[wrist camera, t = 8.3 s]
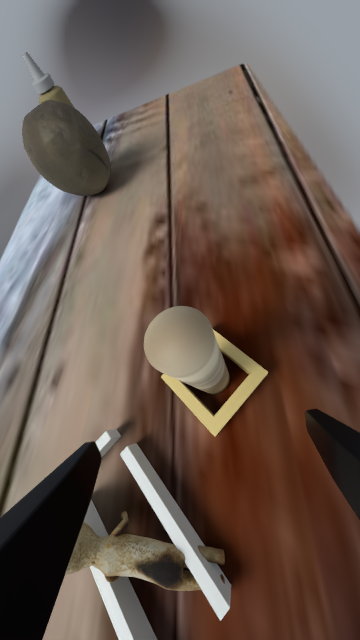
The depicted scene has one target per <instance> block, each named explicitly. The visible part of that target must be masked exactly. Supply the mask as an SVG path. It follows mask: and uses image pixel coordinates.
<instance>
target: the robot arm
mask: <svg viewBox="0 0 360 640" xmlns="http://www.w3.org/2000/svg"><path fill="white" fill-rule="evenodd" d="M305 416H306V426H307V430H308V433H309V435H310V437H311V439H312V441H313V442H314V444H315V446H316V448H317V450H318V452H319V454H320V456H321V458H322V459H323V461H324V463H325V465H326V467H327V469H328V471H329V472H330V474H331V476H332V478H333V479H334V481H335V483H336V484H337V486H338V487H339V489H340V491H341V492H342V494H343V495H344V497H345V498H346V500H347V501H348V503H349V504H350V506H351V507H352V509H353V511H354V512H355V514H356V515H357V517H358V518H359V520H360V433H359V432H358V431H356V430H354V429H352V428H350V427H349V426H347V425H345V424H343V423H341V422H340V421H338V420H336V419H334V418H333V417H331V416H329V415H327V414H325V413H324V412H322V411H320V410H318V409H311V410H307V411H306V412H305ZM100 464H101V453H100V451H99V449H98V446H97V444H96V443H95V442H93V441H92V442H86V443H84V444H83V445H82V446H81V447H80V448H79V449H78V450H76V451H75V452H74V453H73V454H72V455H71V456H70V457H68V458H67V459H66V460H65V461H64V462H63V463H62V464H61V465H59V466H58V467H57V468H56V469H55V470H54V471H53V472H52V473H50V474H49V475H48V476H47V477H46V478H45V479H44V480H43V481H41V482H40V483H39V484H38V485H37V486H36V487H35V488H34V489H32V490H31V491H30V492H29V493H28V494H27V495H26V496H24V497H23V498H22V499H21V500H20V501H19V502H18V503H17V504H15V505H14V506H13V507H12V508H11V509H10V510H9V511H8V512H6V513H5V514H4V515H3V516H2V517H1V518H0V640H42V639H43V636H44V633H45V630H46V627H47V624H48V622H49V619H50V616H51V613H52V610H53V607H54V605H55V602H56V599H57V596H58V593H59V590H60V587H61V585H62V582H63V579H64V576H65V573H66V570H67V567H68V565H69V562H70V559H71V556H72V553H73V550H74V547H75V545H76V542H77V539H78V536H79V533H80V530H81V527H82V525H83V522H84V519H85V516H86V513H87V510H88V507H89V504H90V501H91V498H92V494H93V490H94V486H95V483H96V479H97V475H98V471H99V468H100Z"/></svg>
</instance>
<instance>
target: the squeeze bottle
mask: <svg viewBox="0 0 360 640" xmlns="http://www.w3.org/2000/svg"><path fill="white" fill-rule="evenodd" d="M23 57H24V59H25V61H26V63H27V65H28V67H29V70H30V72H31V74H32V76H33V78H34V80H35V81H34V82H33V84H32V85H33V87H34V88H35V90H36V91H37V93H38V94H41V95H40V98H39V103H40V104H41V103H42V102H44V101H46V100H55V101H59V102H63V103H66V104H68V105H70V106H72V107H73V108H74V106H73V105H72V103H71V102H70V100H69V99H68V97H67V96H66V94H65V92H64V91H63V90H62V88H61V87H59V86H53V85H54V82H53V80H52V78H51V76H50V75H49V74H48V73H47V74H44V73H43V72H42V71H41V70H40V68H39V67H38V66H37V64H36V63H35V62H34V61H33V59H32V58H31V56H30V55H29V54H28V53H27V52H26V53H25V54H23Z"/></svg>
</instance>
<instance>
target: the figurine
mask: <svg viewBox="0 0 360 640" xmlns="http://www.w3.org/2000/svg"><path fill="white" fill-rule="evenodd" d="M120 518H121V520H122V521H121V522H120V523H119V524H118V526H117V527H116V528H115V529H114V530H113V532H112V533H111V534H110V535H109V536H106V537H99V536H98V535H97V534H96V533H95V532H94V531H93V530H92V528H91V527H90V526H89V525H87V524H86V523H84V522H83V525H82V527H81V530H80V533H79V536H78V539H77V542H76V545H75V547H74V550H73V553H72V556H71V559H70V562H69V565H68V567H67V570H66V573H65V574H71V573H74V572H77V571H79V570H81V569H83V568H85V567H89V566H94V567H95V568H97V569H99V570H100V571H101V572H102V573H103V574H104V576H105V579H106V580H107V582H114V581H115V580H117V579H118V578H119V576H124V577H136V578H140V579H143V580H146V581H149V582H152V583H155V584H157V585H159V586H161V587H162V588H164V589H167V590H179V591H191V590H202V589H201V588H200V586H199V584H198V583H197V581H196V579H195V578H194V576H193V574H192V573H191V571H190V569H189V568H185V567H183V566H184V564H185V555H184V554H183V552H181V551H180V550H178V549H177V548H176V546H175V545H174V544H170V543H165V542H162V541H159V540H155V539H151V538H147V537H141V536H136V535H130V534H123V531H124V530H125V528H126V527H127V526H128V514H127V512H126V511H124V512H122V513H121V516H120ZM198 550H199V552H200V553H201V555H202V556H203V557H204V558H205V559H206V560H207V561H208V562H212V563H217V564H220V565H224V564H225V555H224V550H223V549H217V548H213V547H206V546H201V545H198ZM220 577H221V580H222V581H223V583H224V584H225V579H224V576H223V575H222V574H221V575H220Z"/></svg>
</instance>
